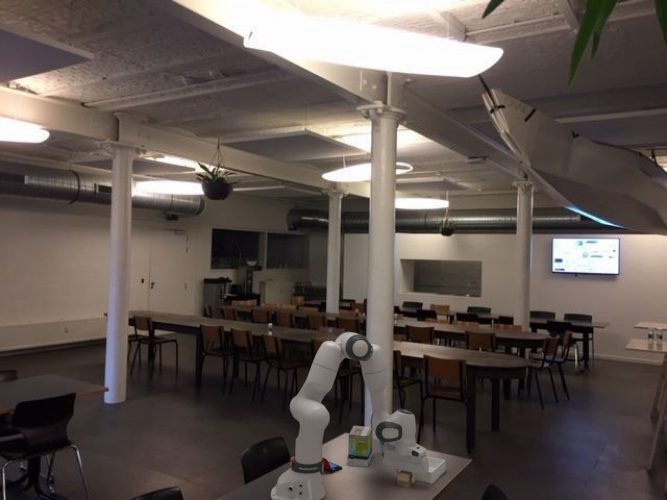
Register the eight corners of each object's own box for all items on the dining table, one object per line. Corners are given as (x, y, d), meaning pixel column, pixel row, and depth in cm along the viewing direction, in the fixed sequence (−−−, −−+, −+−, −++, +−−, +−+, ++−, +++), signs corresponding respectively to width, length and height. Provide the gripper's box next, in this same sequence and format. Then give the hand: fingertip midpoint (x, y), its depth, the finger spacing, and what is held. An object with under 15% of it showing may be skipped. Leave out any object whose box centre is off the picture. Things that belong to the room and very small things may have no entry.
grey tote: (431, 484, 224) (431, 472, 224) (403, 477, 231) (403, 466, 231) (445, 471, 239) (445, 460, 239) (418, 465, 246) (418, 454, 246)
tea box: (368, 467, 242) (368, 435, 243) (347, 465, 244) (347, 434, 245) (372, 456, 257) (372, 426, 258) (352, 454, 259) (352, 424, 260)
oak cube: (408, 487, 221) (408, 475, 221) (397, 484, 223) (397, 473, 224) (413, 483, 225) (413, 471, 225) (402, 480, 228) (402, 469, 228)
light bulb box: (379, 454, 260) (379, 432, 260) (390, 452, 263) (390, 430, 263) (390, 461, 250) (390, 439, 250) (402, 459, 253) (402, 437, 253)
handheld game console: (343, 469, 240) (343, 453, 241) (326, 476, 233) (326, 459, 233) (324, 462, 249) (325, 446, 250) (308, 468, 242) (308, 452, 242)
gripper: (380, 445, 228) (380, 477, 227) (424, 454, 217) (424, 488, 216) (387, 441, 233) (386, 472, 232) (430, 450, 222) (430, 482, 222)
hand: (405, 480), depth 224 cm, fingers closed on oak cube, 5 cm apart
